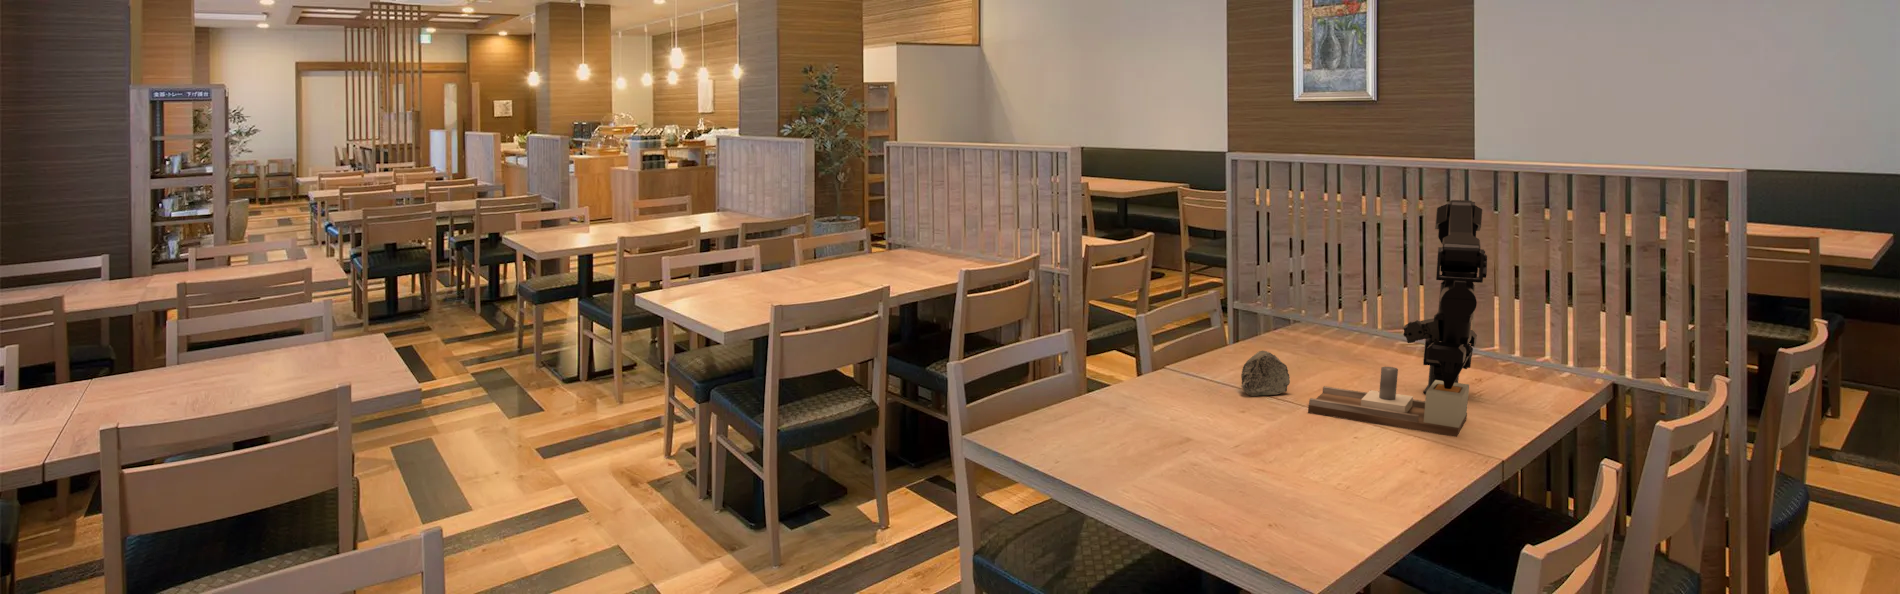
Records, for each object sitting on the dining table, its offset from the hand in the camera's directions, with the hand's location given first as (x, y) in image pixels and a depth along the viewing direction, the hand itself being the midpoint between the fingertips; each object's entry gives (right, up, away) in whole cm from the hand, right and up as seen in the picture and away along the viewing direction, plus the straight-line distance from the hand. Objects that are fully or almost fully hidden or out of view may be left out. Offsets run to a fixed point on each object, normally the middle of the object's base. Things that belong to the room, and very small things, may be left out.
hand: (1447, 388), depth 186 cm
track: (-9, -6, +7) cm, 13 cm away
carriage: (-9, -4, +7) cm, 12 cm away
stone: (-27, -3, +25) cm, 37 cm away
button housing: (0, -6, +1) cm, 6 cm away
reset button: (0, -5, +1) cm, 5 cm away
